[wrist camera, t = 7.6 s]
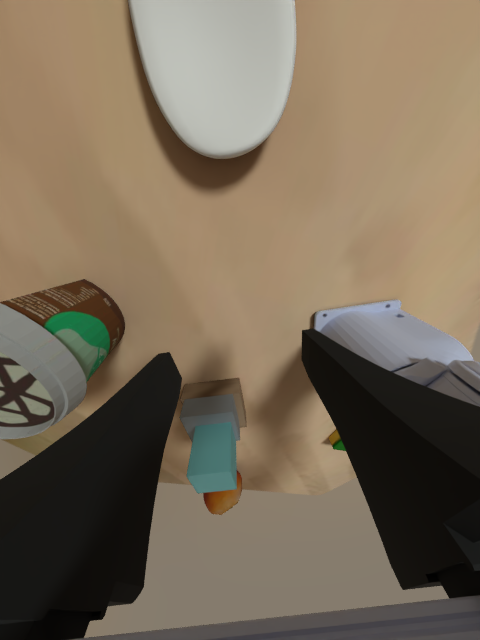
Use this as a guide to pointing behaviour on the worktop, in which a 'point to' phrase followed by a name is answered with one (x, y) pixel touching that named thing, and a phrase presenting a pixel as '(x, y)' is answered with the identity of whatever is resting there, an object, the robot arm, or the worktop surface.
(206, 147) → the spoon
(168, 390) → the robot arm
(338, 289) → the worktop surface
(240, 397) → the walnut slab
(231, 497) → the fruit
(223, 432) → the teal block
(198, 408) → the gray block
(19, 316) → the food container
